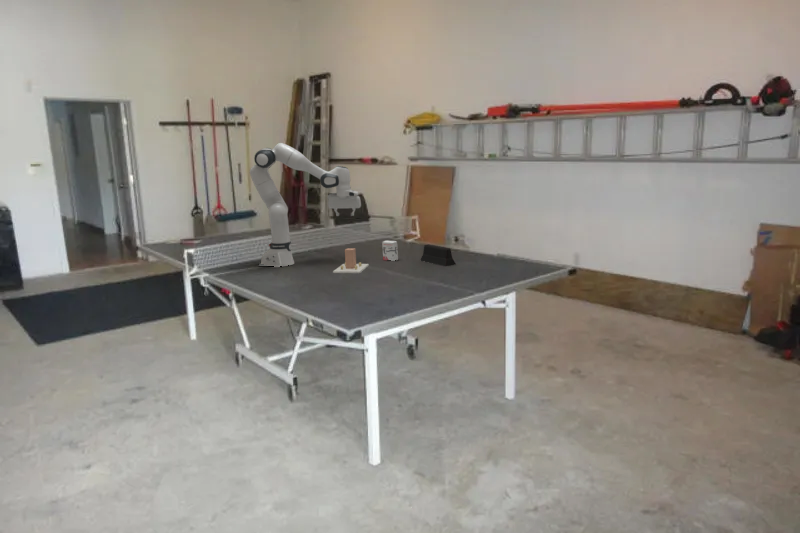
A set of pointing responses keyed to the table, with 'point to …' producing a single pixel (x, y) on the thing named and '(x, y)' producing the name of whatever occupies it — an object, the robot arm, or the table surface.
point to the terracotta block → (350, 258)
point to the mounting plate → (357, 269)
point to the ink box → (390, 250)
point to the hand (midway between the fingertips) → (345, 215)
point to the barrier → (437, 255)
